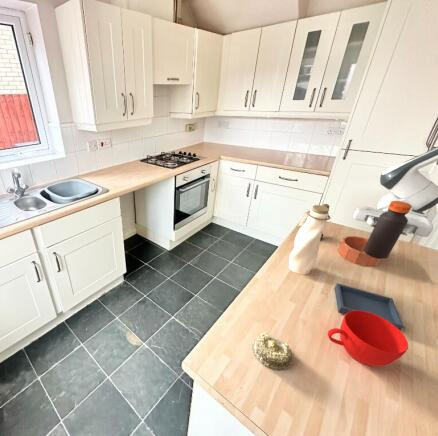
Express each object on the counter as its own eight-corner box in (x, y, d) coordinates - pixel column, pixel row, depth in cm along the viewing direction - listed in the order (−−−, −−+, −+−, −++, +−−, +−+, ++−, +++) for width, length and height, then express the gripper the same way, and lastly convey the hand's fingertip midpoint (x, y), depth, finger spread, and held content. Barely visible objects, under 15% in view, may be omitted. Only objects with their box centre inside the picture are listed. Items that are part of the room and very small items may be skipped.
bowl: (374, 252, 109) (380, 241, 106) (381, 270, 98) (388, 258, 95) (336, 243, 115) (341, 233, 112) (340, 260, 104) (345, 248, 101)
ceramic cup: (309, 329, 75) (319, 307, 70) (368, 334, 73) (383, 311, 69) (332, 372, 64) (347, 349, 59) (403, 379, 62) (423, 356, 57)
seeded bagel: (289, 379, 63) (294, 368, 60) (248, 360, 68) (251, 349, 65) (292, 346, 70) (297, 335, 67) (255, 331, 75) (258, 320, 72)
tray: (388, 303, 83) (392, 298, 82) (400, 332, 74) (404, 326, 73) (334, 288, 90) (336, 282, 89) (338, 312, 81) (341, 307, 79)
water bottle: (279, 262, 103) (297, 203, 90) (294, 258, 106) (314, 199, 93) (300, 278, 95) (323, 215, 82) (316, 272, 98) (341, 211, 84)
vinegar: (388, 253, 87) (416, 203, 78) (385, 262, 83) (415, 210, 74) (364, 246, 92) (388, 197, 82) (361, 253, 88) (385, 203, 78)
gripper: (359, 199, 95) (353, 211, 86) (434, 215, 83) (437, 231, 74) (353, 213, 98) (347, 226, 89) (425, 231, 86) (426, 248, 77)
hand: (388, 228), depth 82 cm, fingers closed on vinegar, 6 cm apart
